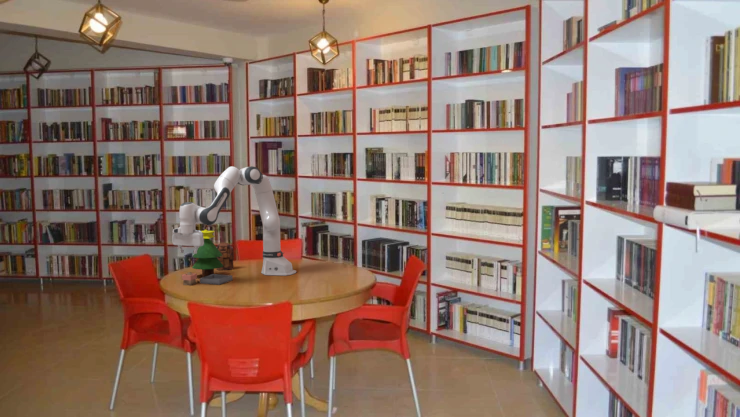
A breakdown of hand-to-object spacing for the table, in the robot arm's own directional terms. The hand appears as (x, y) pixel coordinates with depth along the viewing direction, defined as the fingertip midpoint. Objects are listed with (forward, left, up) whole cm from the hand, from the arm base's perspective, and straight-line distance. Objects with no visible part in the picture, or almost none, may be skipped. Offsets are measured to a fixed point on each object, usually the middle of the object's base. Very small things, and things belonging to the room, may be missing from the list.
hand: (188, 253), depth 356 cm
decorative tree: (+4, -24, -19) cm, 31 cm away
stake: (0, 0, -19) cm, 19 cm away
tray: (-11, -11, -19) cm, 24 cm away
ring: (0, 0, -16) cm, 16 cm away
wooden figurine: (+7, -47, -19) cm, 51 cm away
